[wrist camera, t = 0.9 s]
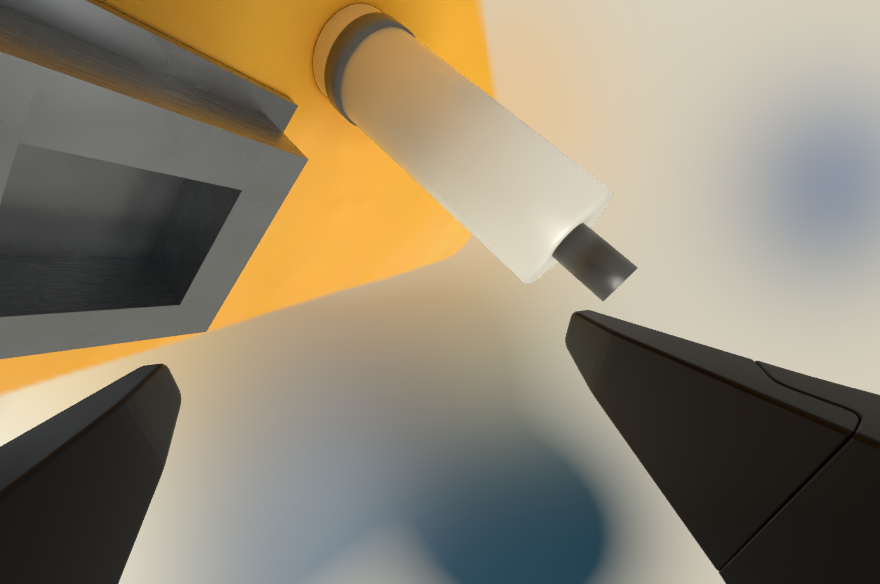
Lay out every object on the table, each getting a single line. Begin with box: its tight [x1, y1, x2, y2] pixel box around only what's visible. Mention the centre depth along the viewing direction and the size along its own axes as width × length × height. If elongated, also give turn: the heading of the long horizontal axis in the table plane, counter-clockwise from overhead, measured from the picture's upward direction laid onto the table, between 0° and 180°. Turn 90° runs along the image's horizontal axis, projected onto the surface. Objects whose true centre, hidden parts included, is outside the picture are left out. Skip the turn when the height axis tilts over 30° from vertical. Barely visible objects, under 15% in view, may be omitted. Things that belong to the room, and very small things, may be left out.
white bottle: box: [313, 4, 637, 301], centre depth 16 cm, size 5×5×15 cm
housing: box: [0, 0, 308, 359], centre depth 14 cm, size 12×12×4 cm
